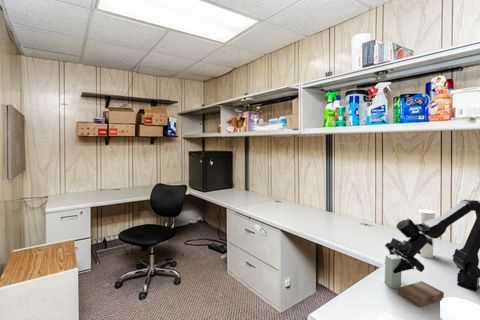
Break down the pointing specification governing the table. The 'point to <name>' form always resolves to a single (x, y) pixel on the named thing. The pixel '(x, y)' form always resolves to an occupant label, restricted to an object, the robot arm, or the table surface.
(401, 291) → the plinth
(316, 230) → the table surface
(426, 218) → the cylindrical container
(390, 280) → the block
